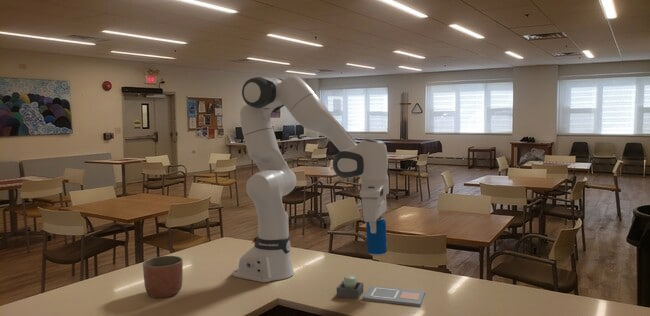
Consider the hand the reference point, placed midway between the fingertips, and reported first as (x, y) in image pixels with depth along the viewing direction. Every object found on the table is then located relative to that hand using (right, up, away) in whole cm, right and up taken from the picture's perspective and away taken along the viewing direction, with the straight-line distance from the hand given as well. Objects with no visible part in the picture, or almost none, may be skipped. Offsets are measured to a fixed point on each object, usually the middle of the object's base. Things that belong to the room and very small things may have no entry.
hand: (376, 230), depth 156 cm
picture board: (+5, -21, -5) cm, 22 cm away
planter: (-70, -21, +1) cm, 73 cm away
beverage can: (0, -8, +1) cm, 8 cm away
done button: (-9, -19, -2) cm, 21 cm away
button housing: (-9, -21, -2) cm, 22 cm away
